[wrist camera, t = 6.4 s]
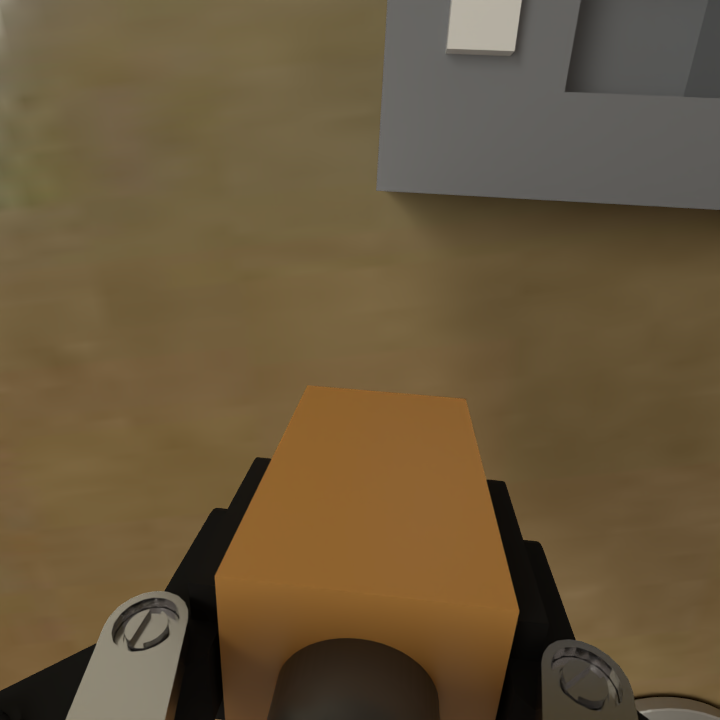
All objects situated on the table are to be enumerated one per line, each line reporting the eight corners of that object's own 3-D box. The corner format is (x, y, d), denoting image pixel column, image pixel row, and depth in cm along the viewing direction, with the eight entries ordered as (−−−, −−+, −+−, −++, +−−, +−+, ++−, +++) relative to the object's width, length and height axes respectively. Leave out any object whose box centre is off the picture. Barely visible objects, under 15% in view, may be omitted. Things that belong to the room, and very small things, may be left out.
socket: (929, -173, 19) (1144, -315, 13) (793, 210, 24) (907, 221, 18) (405, -177, 20) (404, -306, 14) (382, 187, 25) (375, 191, 20)
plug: (465, 398, 13) (560, 773, 5) (447, 528, 15) (496, 979, 7) (307, 385, 14) (146, 717, 5) (306, 514, 15) (179, 926, 7)
